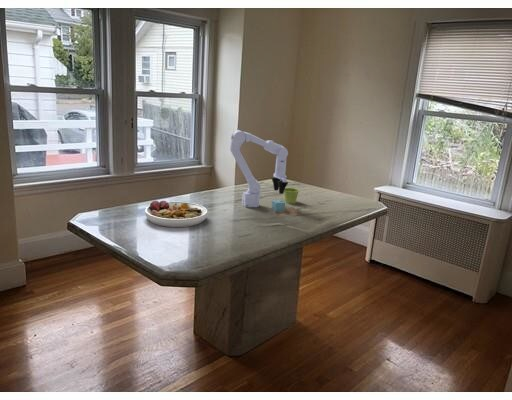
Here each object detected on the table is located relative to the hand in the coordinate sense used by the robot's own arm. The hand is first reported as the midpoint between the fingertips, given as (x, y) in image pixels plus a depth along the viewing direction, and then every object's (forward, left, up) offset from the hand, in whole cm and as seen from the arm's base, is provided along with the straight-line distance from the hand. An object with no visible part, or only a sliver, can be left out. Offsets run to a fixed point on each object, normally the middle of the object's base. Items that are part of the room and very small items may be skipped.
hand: (278, 191), depth 238 cm
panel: (0, -11, -9) cm, 14 cm away
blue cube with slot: (-3, -8, -8) cm, 12 cm away
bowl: (-59, -12, -10) cm, 61 cm away
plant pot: (+11, +7, -10) cm, 16 cm away
